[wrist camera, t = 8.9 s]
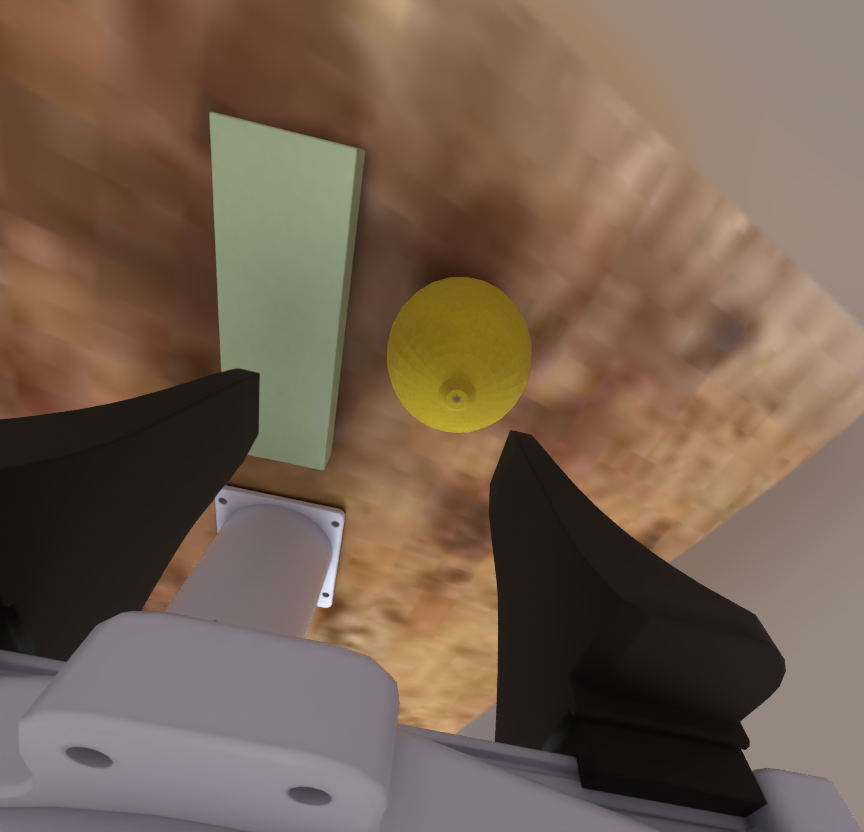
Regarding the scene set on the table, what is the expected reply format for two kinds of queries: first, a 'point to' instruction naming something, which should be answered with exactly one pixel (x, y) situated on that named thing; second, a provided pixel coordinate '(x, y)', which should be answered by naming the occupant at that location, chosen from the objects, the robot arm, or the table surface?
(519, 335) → the lemon
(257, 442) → the green block
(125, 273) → the table surface
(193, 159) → the table surface
